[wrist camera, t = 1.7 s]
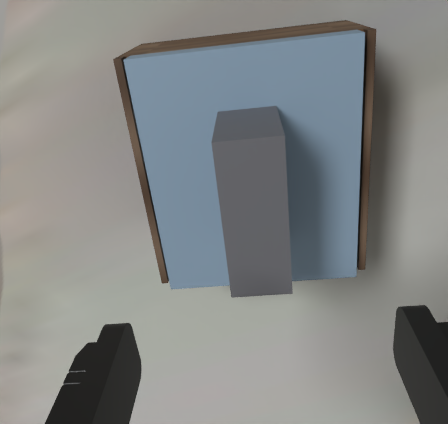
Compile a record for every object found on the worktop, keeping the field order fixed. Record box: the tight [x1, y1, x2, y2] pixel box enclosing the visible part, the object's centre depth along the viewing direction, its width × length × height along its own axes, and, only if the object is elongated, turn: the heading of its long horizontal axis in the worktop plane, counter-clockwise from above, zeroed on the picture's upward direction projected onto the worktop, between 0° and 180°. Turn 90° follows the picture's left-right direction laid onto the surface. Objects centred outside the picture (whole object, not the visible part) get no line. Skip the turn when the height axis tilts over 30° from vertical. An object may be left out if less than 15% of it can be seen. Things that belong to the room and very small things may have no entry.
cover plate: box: [123, 30, 365, 297], centre depth 22 cm, size 14×12×6 cm
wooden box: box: [113, 20, 376, 283], centre depth 27 cm, size 14×13×7 cm
